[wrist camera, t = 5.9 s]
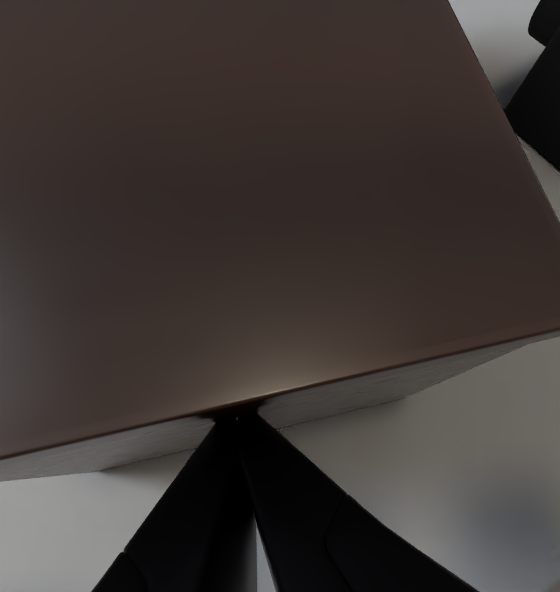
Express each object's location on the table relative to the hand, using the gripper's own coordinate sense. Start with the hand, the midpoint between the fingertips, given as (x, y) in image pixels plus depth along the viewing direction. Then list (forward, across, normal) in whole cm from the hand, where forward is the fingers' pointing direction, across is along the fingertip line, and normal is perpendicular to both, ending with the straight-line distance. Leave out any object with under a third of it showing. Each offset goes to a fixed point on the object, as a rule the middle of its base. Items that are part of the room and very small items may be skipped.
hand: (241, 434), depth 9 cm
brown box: (+11, 0, +2) cm, 11 cm away
